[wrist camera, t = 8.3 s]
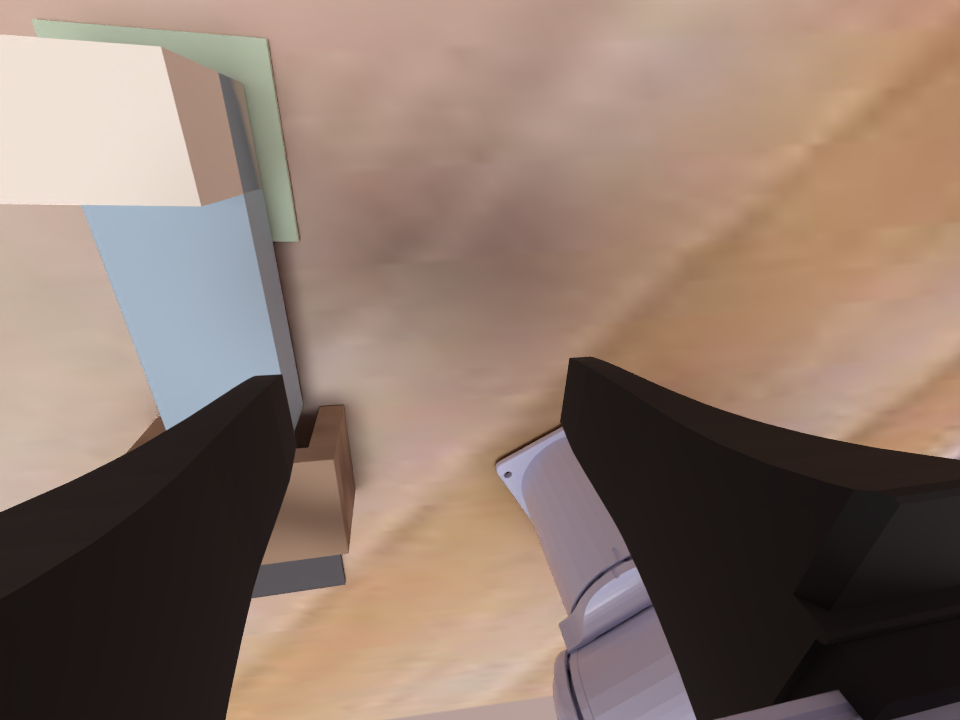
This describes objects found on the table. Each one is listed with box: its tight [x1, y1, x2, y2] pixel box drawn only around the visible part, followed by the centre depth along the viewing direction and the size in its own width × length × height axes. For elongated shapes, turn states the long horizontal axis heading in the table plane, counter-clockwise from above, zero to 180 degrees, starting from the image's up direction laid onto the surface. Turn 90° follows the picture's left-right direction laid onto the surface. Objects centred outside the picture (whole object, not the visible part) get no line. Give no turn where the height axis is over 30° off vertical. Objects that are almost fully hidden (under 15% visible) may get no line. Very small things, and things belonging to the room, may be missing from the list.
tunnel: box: [127, 405, 355, 565], centre depth 20 cm, size 6×9×4 cm
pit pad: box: [251, 554, 346, 598], centre depth 26 cm, size 6×6×1 cm
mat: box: [31, 19, 300, 242], centre depth 16 cm, size 7×7×1 cm
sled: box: [0, 35, 303, 431], centre depth 15 cm, size 14×5×6 cm, turn 178°
